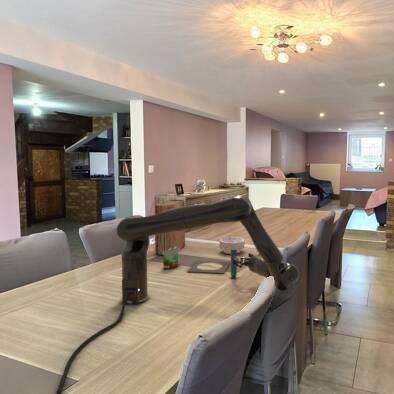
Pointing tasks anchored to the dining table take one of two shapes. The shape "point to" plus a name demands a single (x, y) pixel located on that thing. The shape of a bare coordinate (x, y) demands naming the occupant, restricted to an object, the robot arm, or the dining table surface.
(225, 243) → the paper bowls
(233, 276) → the marker
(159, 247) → the brown wooden block
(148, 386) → the dining table surface
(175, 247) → the potted plant
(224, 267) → the square plate with hole
